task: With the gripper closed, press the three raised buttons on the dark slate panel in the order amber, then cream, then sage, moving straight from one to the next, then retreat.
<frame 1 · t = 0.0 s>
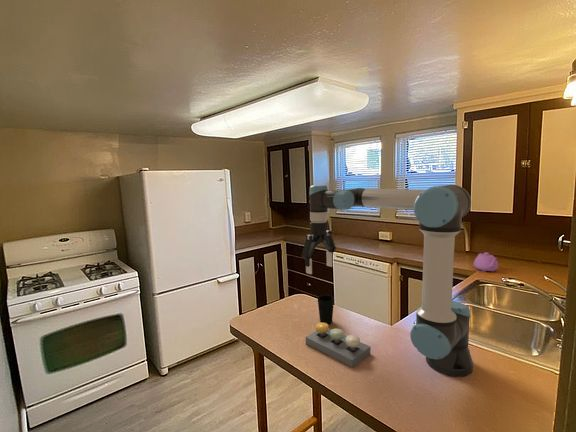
hand: (319, 269, 134), 28 cm above the table, fingers open, 13 cm apart
purple lumpy mound: (486, 270, 211), on the table
panel: (336, 348, 123), on the table
button amber: (322, 330, 128), point 5 cm above the table, slide at 0.0 cm
button sage: (336, 336, 122), point 5 cm above the table, slide at 0.0 cm
button cream: (352, 344, 117), point 5 cm above the table, slide at 0.0 cm
cup: (326, 322, 145), on the table
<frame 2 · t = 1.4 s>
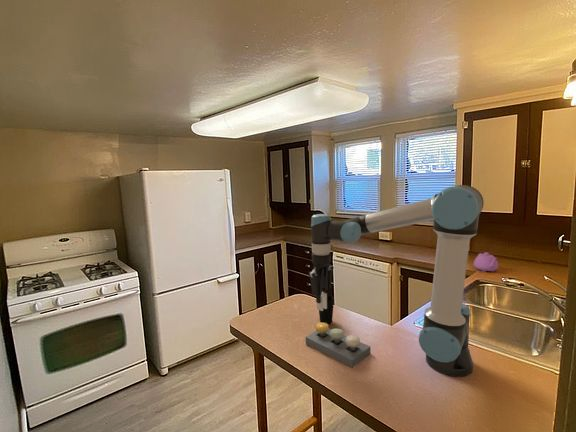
hand: (321, 308, 126), 14 cm above the table, fingers closed
nothing on the table moved.
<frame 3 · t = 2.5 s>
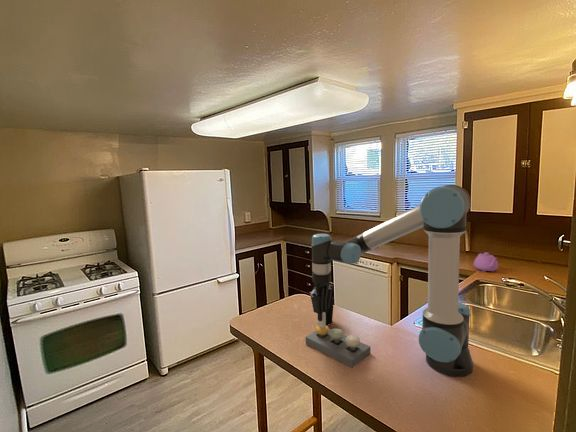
hand: (322, 326, 128), 6 cm above the table, fingers closed
button amber: (322, 332, 128), point 4 cm above the table, slide at 1.0 cm, touching gripper
everything else where it was.
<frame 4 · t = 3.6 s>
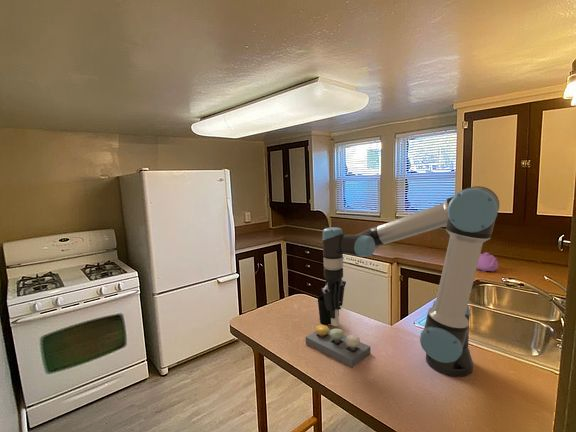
hand: (334, 324, 123), 10 cm above the table, fingers closed
button amber: (322, 332, 128), point 4 cm above the table, slide at 1.1 cm
everything else where it was.
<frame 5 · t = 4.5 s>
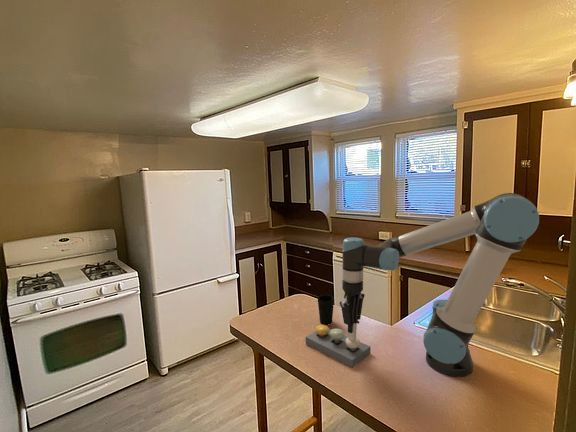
hand: (352, 339, 117), 7 cm above the table, fingers closed
button cream: (352, 345, 117), point 4 cm above the table, slide at 0.6 cm, touching gripper
everything else where it was.
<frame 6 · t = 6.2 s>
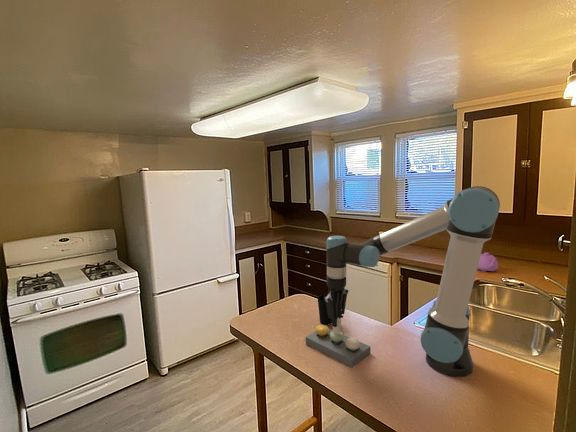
hand: (336, 333, 122), 7 cm above the table, fingers closed
button sage: (336, 338, 122), point 4 cm above the table, slide at 0.8 cm, touching gripper
button cream: (352, 346, 117), point 4 cm above the table, slide at 1.1 cm
everything else where it was.
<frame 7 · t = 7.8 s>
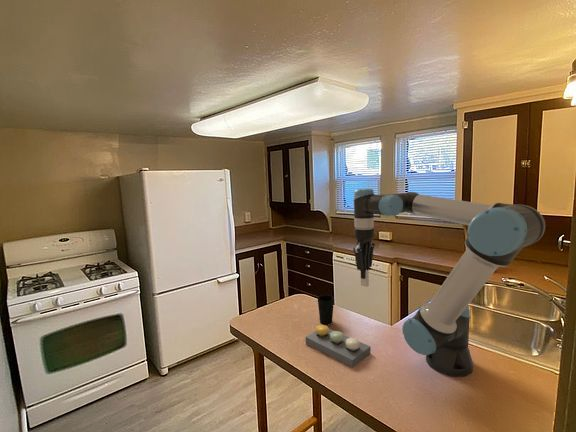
hand: (364, 285, 125), 24 cm above the table, fingers closed
button sage: (336, 339, 122), point 4 cm above the table, slide at 1.1 cm
everything else where it was.
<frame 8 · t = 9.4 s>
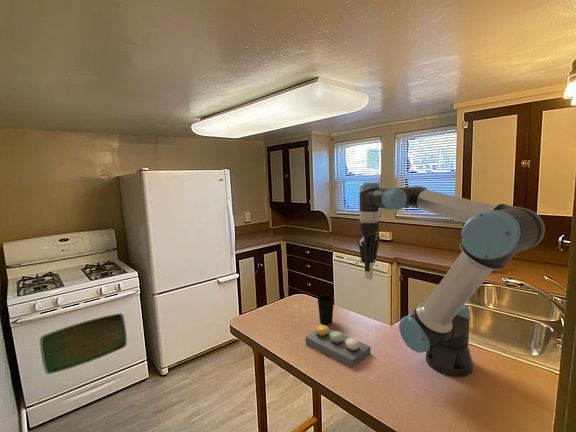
hand: (368, 278, 126), 26 cm above the table, fingers closed
nothing on the table moved.
at the end: button amber slide at 1.1 cm; button cream slide at 1.1 cm; button sage slide at 1.1 cm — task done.
